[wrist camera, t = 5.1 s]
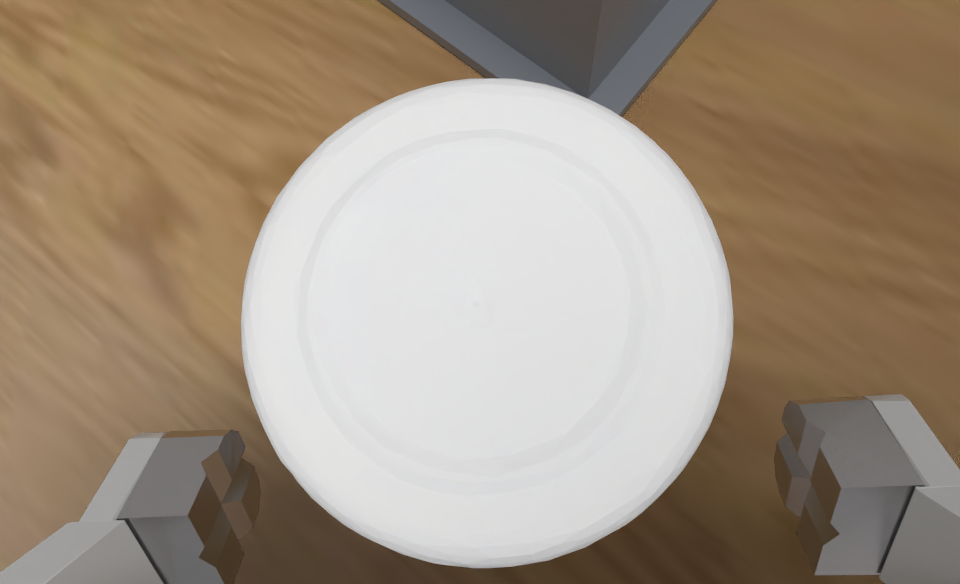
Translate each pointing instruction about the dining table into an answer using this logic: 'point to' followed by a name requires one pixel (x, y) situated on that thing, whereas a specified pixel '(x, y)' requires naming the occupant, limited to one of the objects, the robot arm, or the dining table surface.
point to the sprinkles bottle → (487, 323)
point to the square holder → (562, 40)
